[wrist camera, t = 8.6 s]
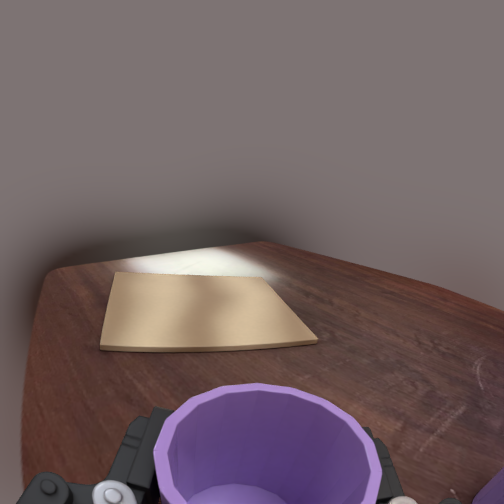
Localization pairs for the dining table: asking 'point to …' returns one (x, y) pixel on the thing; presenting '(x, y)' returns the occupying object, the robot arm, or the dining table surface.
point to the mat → (197, 315)
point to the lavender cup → (264, 450)
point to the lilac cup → (492, 490)
